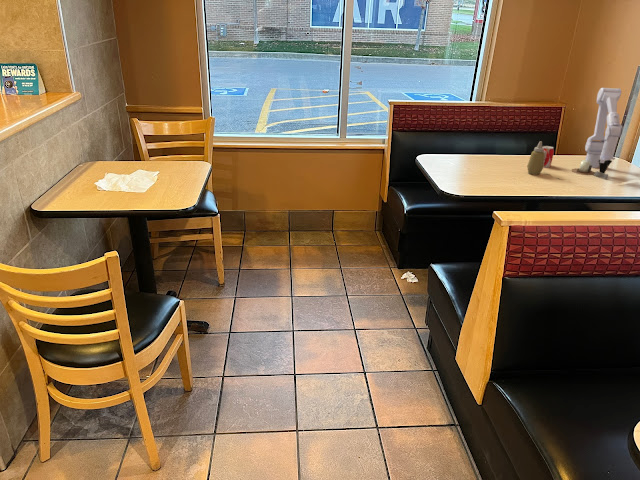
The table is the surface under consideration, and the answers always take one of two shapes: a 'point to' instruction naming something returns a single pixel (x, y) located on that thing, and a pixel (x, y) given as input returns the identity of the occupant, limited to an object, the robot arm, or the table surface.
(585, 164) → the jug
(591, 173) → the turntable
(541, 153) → the squeeze bottle
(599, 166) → the robot arm
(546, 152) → the soda can
